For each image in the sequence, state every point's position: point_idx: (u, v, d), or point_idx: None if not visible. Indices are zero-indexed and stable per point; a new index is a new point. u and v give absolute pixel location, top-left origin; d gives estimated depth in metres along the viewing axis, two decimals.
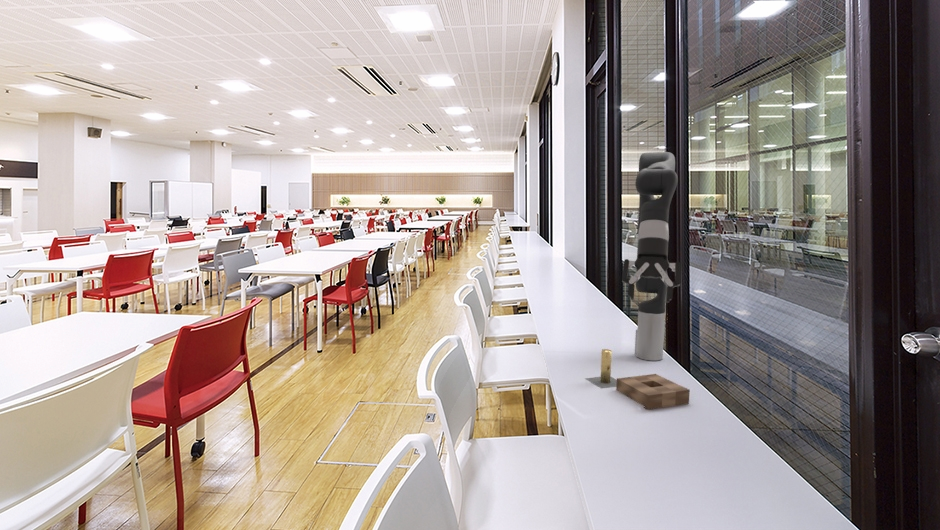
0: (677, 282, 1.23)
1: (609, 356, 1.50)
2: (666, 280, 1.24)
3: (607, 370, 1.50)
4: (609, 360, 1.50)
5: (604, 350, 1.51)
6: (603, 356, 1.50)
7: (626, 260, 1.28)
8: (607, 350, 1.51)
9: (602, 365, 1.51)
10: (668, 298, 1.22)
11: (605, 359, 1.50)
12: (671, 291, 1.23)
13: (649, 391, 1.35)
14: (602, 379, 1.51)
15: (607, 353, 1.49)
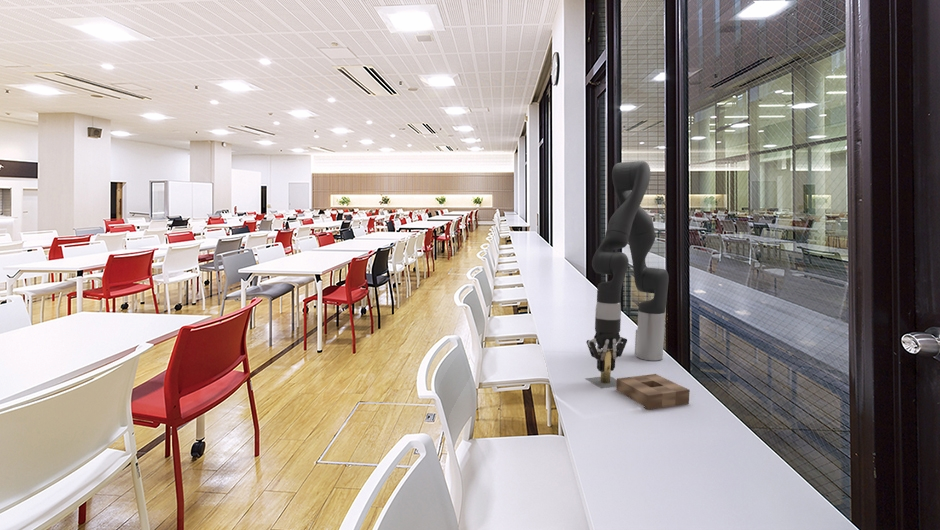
0: (619, 354, 1.51)
1: (609, 356, 1.50)
2: (613, 353, 1.50)
3: (607, 370, 1.50)
4: (609, 360, 1.50)
5: None
6: None
7: (592, 343, 1.47)
8: (607, 350, 1.51)
9: None
10: (613, 368, 1.51)
11: (605, 359, 1.50)
12: (614, 362, 1.51)
13: (649, 391, 1.35)
14: (602, 379, 1.51)
15: (607, 353, 1.49)
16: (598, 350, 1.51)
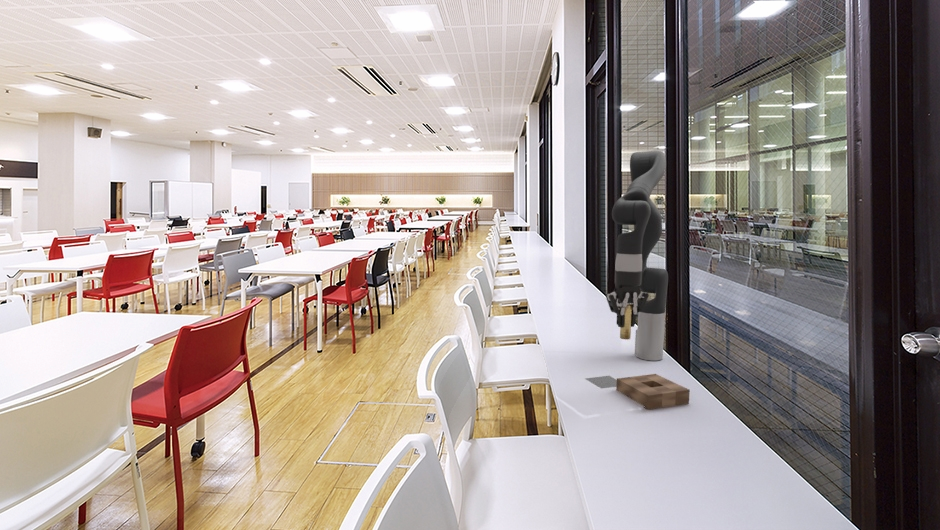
0: (640, 310, 1.44)
1: (629, 311, 1.43)
2: (634, 308, 1.44)
3: (627, 326, 1.43)
4: (629, 315, 1.43)
5: None
6: None
7: (611, 296, 1.41)
8: (627, 305, 1.44)
9: None
10: (633, 324, 1.44)
11: (625, 314, 1.43)
12: (634, 317, 1.45)
13: (649, 391, 1.35)
14: (622, 335, 1.44)
15: (627, 307, 1.43)
16: (618, 305, 1.44)
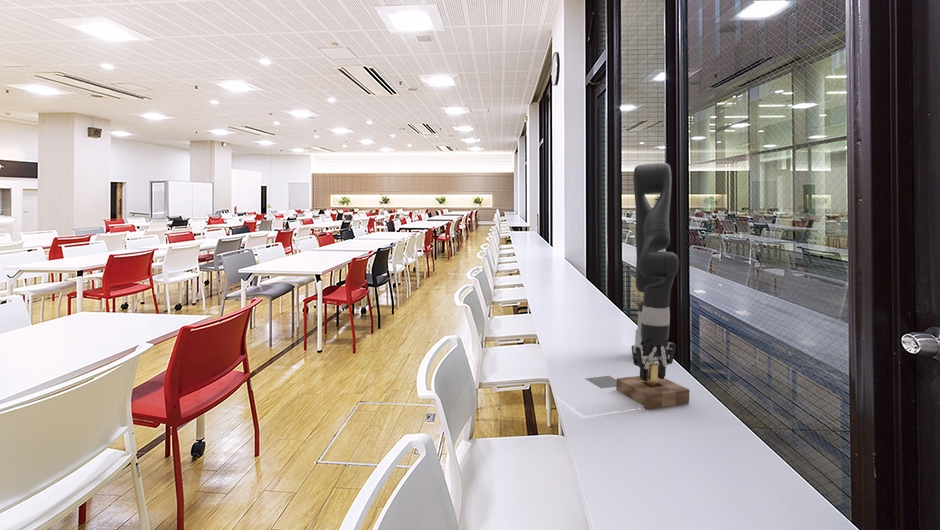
0: (670, 362, 1.40)
1: (656, 370, 1.38)
2: (663, 361, 1.39)
3: (654, 385, 1.39)
4: (656, 374, 1.39)
5: (650, 363, 1.40)
6: (649, 370, 1.39)
7: (638, 349, 1.36)
8: (653, 363, 1.40)
9: (648, 379, 1.40)
10: (663, 377, 1.40)
11: (652, 373, 1.39)
12: (664, 370, 1.40)
13: (649, 391, 1.35)
14: None
15: (653, 366, 1.38)
16: (642, 357, 1.39)
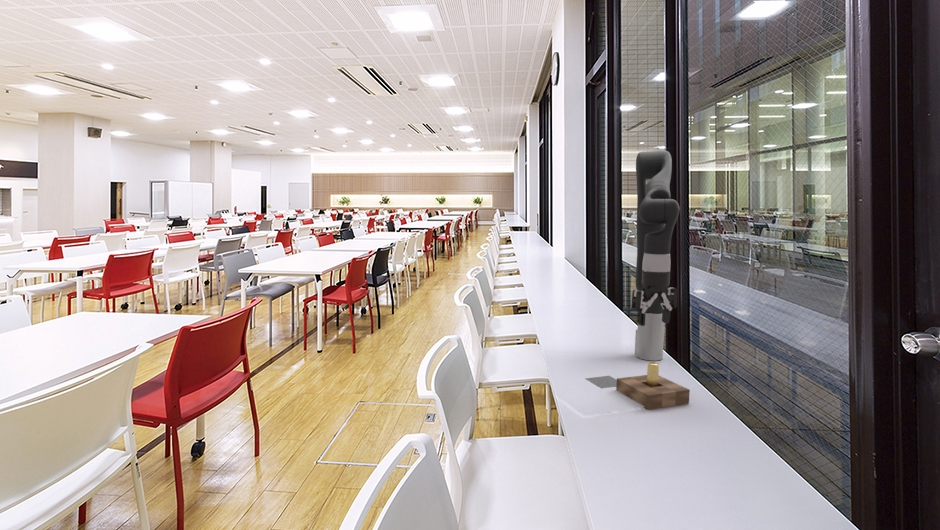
0: (674, 306, 1.42)
1: (656, 370, 1.38)
2: (667, 306, 1.41)
3: (654, 385, 1.39)
4: (656, 374, 1.39)
5: (651, 363, 1.40)
6: (650, 370, 1.39)
7: (639, 292, 1.37)
8: (654, 363, 1.40)
9: (648, 379, 1.40)
10: (668, 321, 1.42)
11: (652, 373, 1.39)
12: (669, 314, 1.43)
13: (649, 391, 1.35)
14: None
15: (654, 366, 1.38)
16: (641, 303, 1.40)
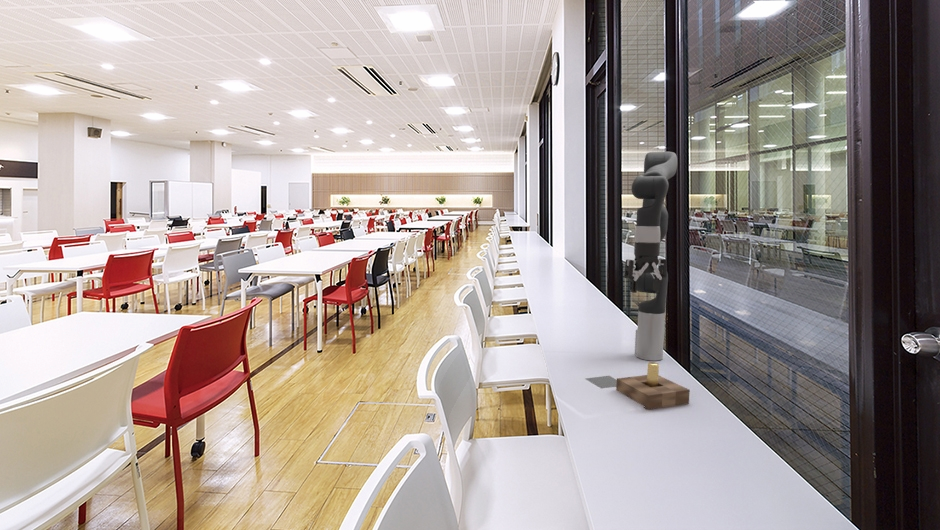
0: (664, 276, 1.55)
1: (656, 370, 1.38)
2: (657, 275, 1.54)
3: (654, 385, 1.39)
4: (656, 374, 1.39)
5: (651, 363, 1.40)
6: (650, 370, 1.39)
7: (632, 261, 1.50)
8: (654, 363, 1.40)
9: (648, 379, 1.40)
10: (658, 289, 1.55)
11: (652, 373, 1.39)
12: (659, 283, 1.55)
13: (649, 391, 1.35)
14: None
15: (654, 366, 1.38)
16: (633, 272, 1.53)
